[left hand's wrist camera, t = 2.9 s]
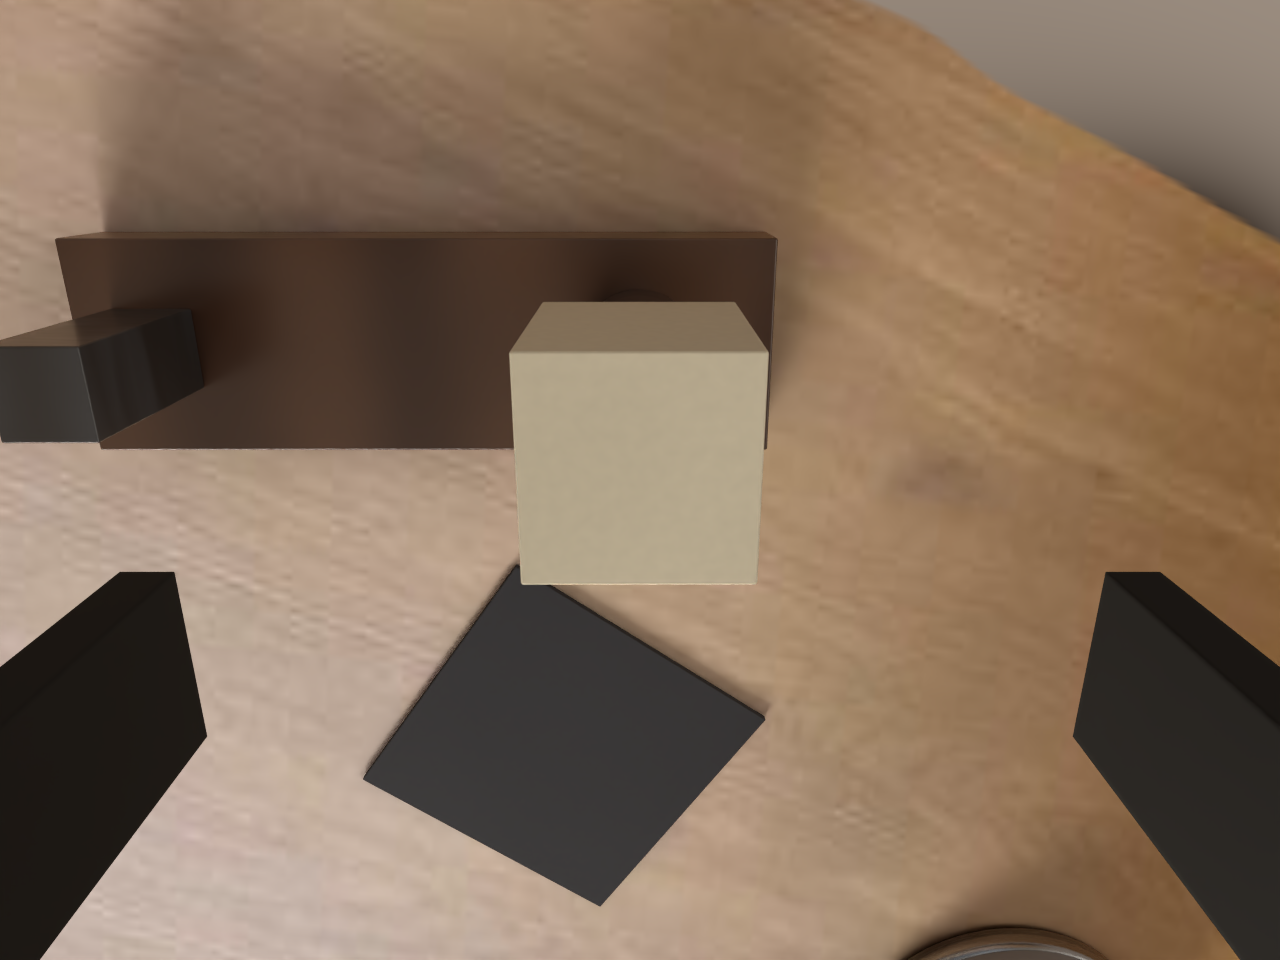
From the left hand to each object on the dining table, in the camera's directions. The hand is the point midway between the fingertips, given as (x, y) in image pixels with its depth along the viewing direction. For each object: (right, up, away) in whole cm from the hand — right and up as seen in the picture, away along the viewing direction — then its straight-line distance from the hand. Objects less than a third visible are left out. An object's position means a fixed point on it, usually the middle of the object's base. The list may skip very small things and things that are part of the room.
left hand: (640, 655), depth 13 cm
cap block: (0, +5, +14) cm, 15 cm away
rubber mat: (-4, -10, +30) cm, 32 cm away
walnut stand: (-8, +8, +23) cm, 26 cm away
